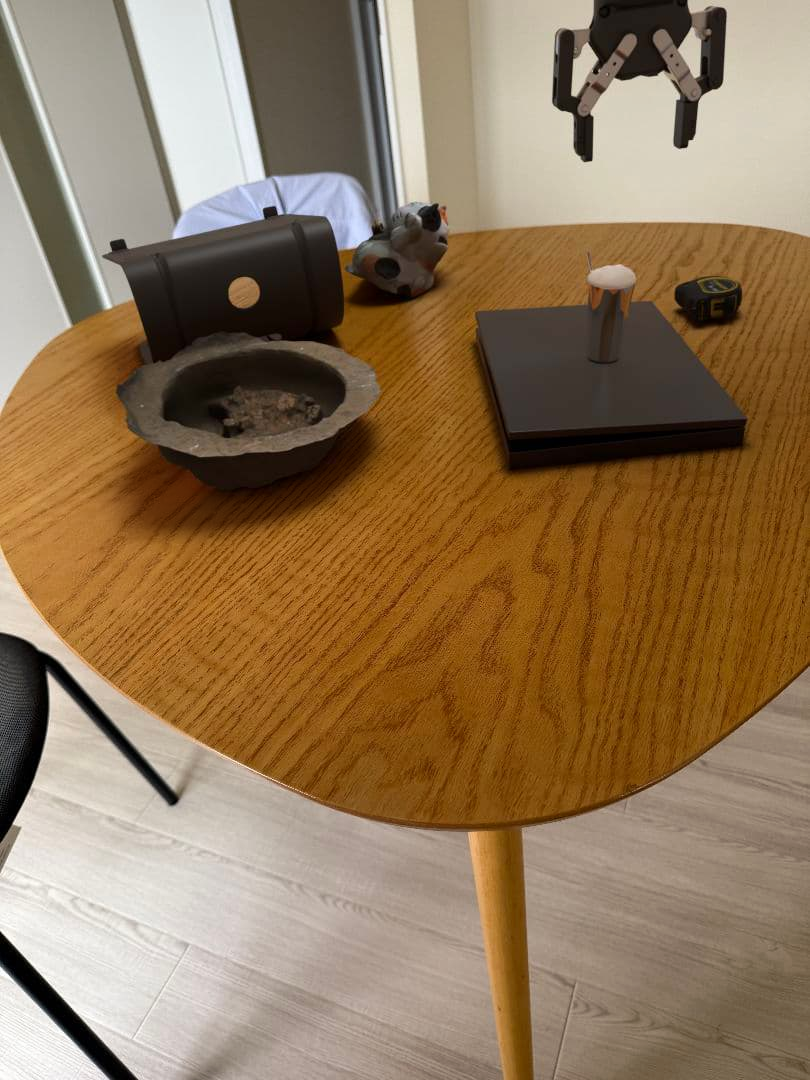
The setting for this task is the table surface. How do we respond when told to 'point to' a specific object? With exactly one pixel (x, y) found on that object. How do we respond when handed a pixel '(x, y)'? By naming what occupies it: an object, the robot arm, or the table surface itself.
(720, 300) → the tape measure
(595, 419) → the laptop screen
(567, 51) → the robot arm
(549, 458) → the laptop
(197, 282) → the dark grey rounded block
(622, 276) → the milkshake
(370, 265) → the lucky cat figurine
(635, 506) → the table surface
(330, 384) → the stone bowl
